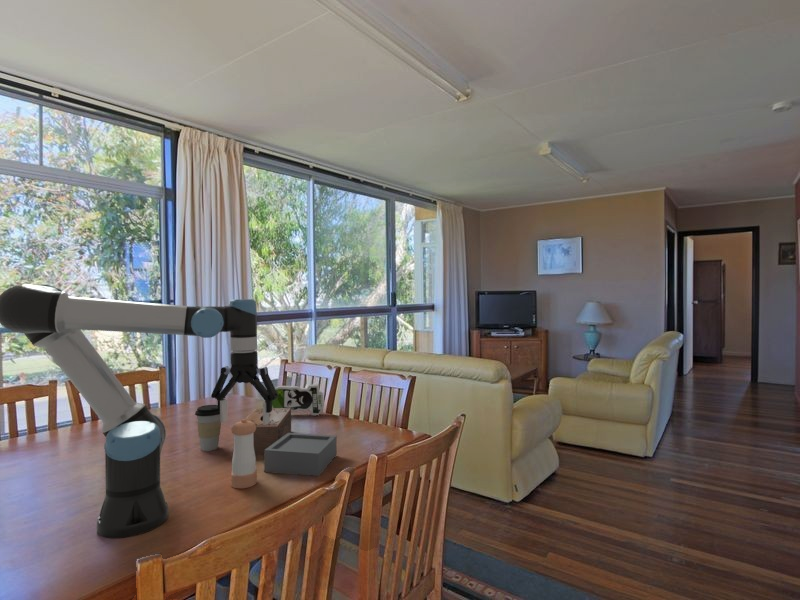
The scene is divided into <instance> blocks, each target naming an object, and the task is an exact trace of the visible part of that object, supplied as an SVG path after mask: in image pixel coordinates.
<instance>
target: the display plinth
mask: <svg viewBox="0 0 800 600" xmlns="http://www.w3.org/2000/svg"><path fill="white" fill-rule="evenodd" d="M337 443H338V442H337V435H330V434H328V435H327V434H316V433H315V434H314V433H313V434H312V433H297V432H291V433H287V434H286V435H284V436H283V437H282V438H280V439H279V440H277V441H276V442H275V443H273V444H272V445H271V446H269V447H268V448H266V449H265V450H264V454H263V455H264V457H263V460H264V461H263V462H264V466H263V467H264V468H263V470H264V471H263V472H264V473H270V472H274V473H273V474H284V473H289V474H288V475H297V474H302V475H301V476H311V475H313V476H314V477H319V476H320V475H321V474H322V473H323V472H324V471H323V470H325V469H326V468H327V467H328V466H329V465H330V464H331V463H332V461H333V460H334V459H335V458H336V457H337V456H336V455H337V451H338V450H337ZM335 456H336V457H335ZM334 457H335V458H334ZM333 458H334V459H333ZM332 459H333V460H332ZM330 462H331V463H330ZM329 463H330V464H329ZM328 464H329V465H328ZM327 465H328V466H327ZM322 471H323V472H322ZM313 476H312V477H313Z"/></svg>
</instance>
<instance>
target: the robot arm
mask: <svg viewBox="0 0 800 600" xmlns="http://www.w3.org/2000/svg"><path fill="white" fill-rule="evenodd" d="M0 325H1V326H2V327H4V328H5V329H7V330H9V331H11V332H14V333H17V334H23V335H24V336H25V337H26V338H27V340H29V342H30V343H31V344H32V346H34V347H38V348H43V349H45V350H46V352H47V353H48V354H49V355H50V356H51V358H52V359H53V361H54V362H55V363H56V364H57V366H58V367H59V368H60V369H61V370H62V372H63V373H64V374H65V376H66V377H67V378H68V379H69V381H70V382H71V383H72V385H73V386H74V387H75V389H76V390H77V391H78V392H79V394H80V395H81V396H82V398H83V399H84V400H85V402H86V403H87V404H88V406H89V407H90V408H91V409H92V411H93V412H94V413H95V414H96V415H97V417H98V418H99V420H101V422H102V429H101V433H102V434H103V435H104V436H105V442H104V446H103V447H104V452H105V454H104V455H105V456H104V457H105V459H104V460H105V462H104V463H105V465H104V466H105V468H104V469H105V470H104V471H105V472H104V473H105V497H104V500H103V504H102V506H101V509H100V512H99V516H98V517H97V521H96V531H97V534H98V535H99V536H101V537H104V538H108V539H109V538H111V539H121V538H122V539H123V538H129V537H134V536H138V535H141V534H145V533H146V532H149V531H151V530H153V529H155V528H157V527H159V526H161V525H163V523H164V522H166V520H167V519H168V517H169V505H168V503H167V501H166V499H165V495H164V493H163V490H162V487H161V453H162V450H163V447H164V444H165V441H166V435H167V433H166V427H165V423H163V421H162V420H161V419H160V417H158V416H157V415H155V414H154V413H152V412H151V411H150V410H149V408H148V407H147V405H146V404H145V403H142V402H141V403H140V402H136V401H135V400H134V399H133V398H132V396H131V395H130V394H129V391H127V389H126V388H125V387H124V385H123V384H122V383H121V381H120V380H119V379H118V378H117V376H116V375H115V374H114V372H113V371H112V370H111V369H110V367H109V365H107V363H106V361H104V359H103V357H102V356H101V355H100V354H99V352H98V351H97V350H96V348H95V347H94V345H93V344H92V343H91V342H90V341H89V339H88V338H87V337H86V335H85V334H84V333H83V331H85V330H86V331H100V332H101V331H103V332H119V333H121V332H122V333H138V334H139V333H140V334H155V335H156V334H158V335H175V336H176V335H178V336H191V337H195V336H196V337H200V338H205V339H207V338H208V339H210V338H214V337H216V336H217V335H218V334H220V333H227V332H228V333H229V332H230V344H229V345H230V351H231V353H230V366H231V367H229V366H228V365H226V366H223V367H221V368H220V375H219V377H218V379H217V381H216V384H215V387H214V388H213V390H212V393H211V395H210V397H211V398H212V399H216V400H217V405H218V411H220V423H221V424H223V423H225V422H226V421H228V398H226V397H227V395H228V394H229V393H230V392H231V390H232V388H234V387H235V385H236V384H241V383H244V384H248V383H249V384H250V385H251V386H253V387H254V388H255V389H256V391H257V392H258V393H259V395H260V396H261V397H262V399H263V400H264V401H262V408H263V425H266V424H267V423H269V422H270V412H271V411H272V400H275V399H276V398H278V394H277V392H276V390H275V388H276V387H275V386H274V384H273V381H272V379H271V377H270V375H269V370H268V367H267V366H265V367H261V368H258V352H257V350H258V314H257V301H256V300H254V299H251V298H245V299H244V298H241V299H239V298H238V299H230V300H229V304H228V305H226V306H225V305H224V306H217V305H216V306H215V305H214V306H210V305H209V306H199V305H198V306H191V305H190V306H189V305H179V304H178V305H177V304H166V303H165V304H163V303H151V302H139V301H126V300H118V299H117V300H116V299H102V298H91V297H90V298H89V297H80V296H79V297H78V296H71V295H69V294H68V293H67V292H65V291H63V290H62V289H59V288H57V287H56V286H53V285H49V284H42V283H41V284H27V283H26V284H25V283H23V284H18V285H14V286H12V287H9V288H8V289H5V290H4V291H3V292H2V293H1V294H0ZM82 330H83V331H82ZM230 374H231V378H230V379H229V380H228V383H227V384H226V385H225V383H226V381H227V379H228V377H229V375H230ZM257 375H259V376H260V378H259V377H258V376H257ZM260 380H262V382H261V381H260ZM224 385H225V386H224Z"/></svg>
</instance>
